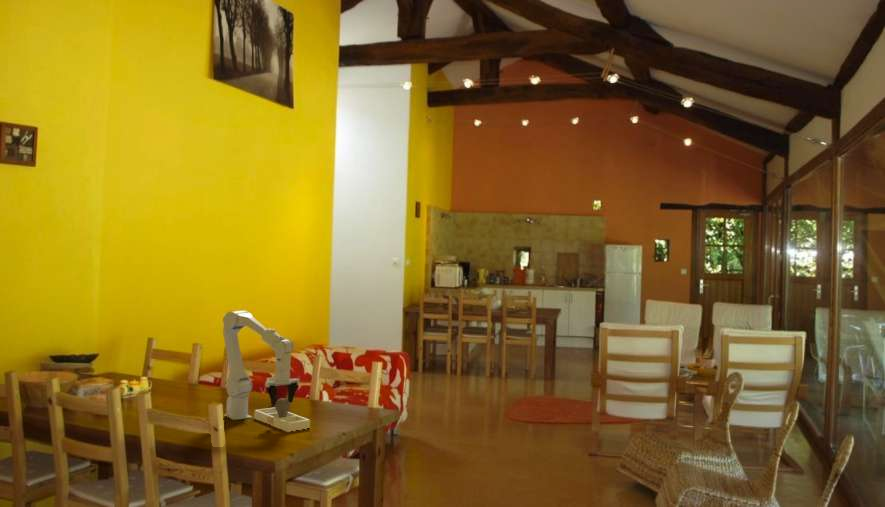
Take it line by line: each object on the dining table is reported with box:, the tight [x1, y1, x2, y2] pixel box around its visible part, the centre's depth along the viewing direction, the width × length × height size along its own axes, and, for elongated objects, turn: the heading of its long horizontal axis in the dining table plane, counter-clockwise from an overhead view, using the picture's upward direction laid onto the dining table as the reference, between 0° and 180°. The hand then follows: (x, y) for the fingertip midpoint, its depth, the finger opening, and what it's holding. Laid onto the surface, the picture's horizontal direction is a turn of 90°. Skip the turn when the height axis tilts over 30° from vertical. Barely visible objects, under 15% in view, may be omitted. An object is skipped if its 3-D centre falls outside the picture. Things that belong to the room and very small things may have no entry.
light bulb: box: [275, 398, 291, 418], centre depth 294 cm, size 6×6×10 cm
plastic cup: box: [266, 376, 288, 408], centre depth 327 cm, size 11×11×12 cm
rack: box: [253, 407, 311, 433], centre depth 295 cm, size 27×10×4 cm, turn 42°
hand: (281, 403), depth 295 cm, fingers open, 7 cm apart
